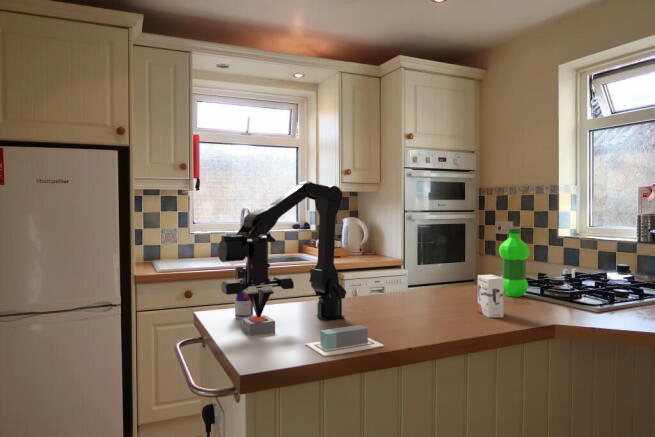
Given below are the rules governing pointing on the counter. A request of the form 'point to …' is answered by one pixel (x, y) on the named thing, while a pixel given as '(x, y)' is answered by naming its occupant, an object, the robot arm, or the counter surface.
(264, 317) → the button
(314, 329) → the counter surface
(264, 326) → the button housing
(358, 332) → the teal-tipped grey block
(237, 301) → the energy drink
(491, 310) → the ink box
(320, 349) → the paper sheet
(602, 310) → the counter surface
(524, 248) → the plastic bottle
